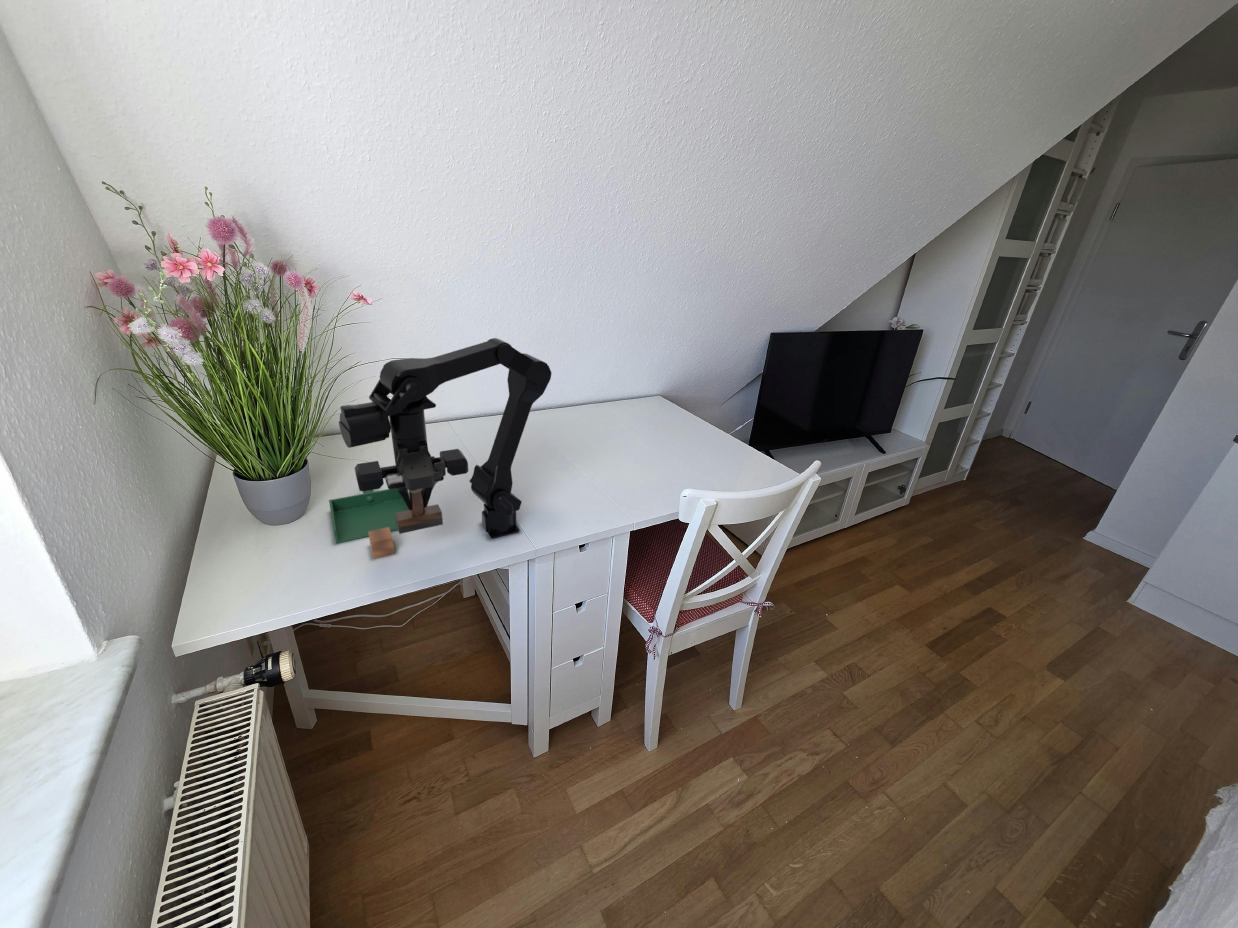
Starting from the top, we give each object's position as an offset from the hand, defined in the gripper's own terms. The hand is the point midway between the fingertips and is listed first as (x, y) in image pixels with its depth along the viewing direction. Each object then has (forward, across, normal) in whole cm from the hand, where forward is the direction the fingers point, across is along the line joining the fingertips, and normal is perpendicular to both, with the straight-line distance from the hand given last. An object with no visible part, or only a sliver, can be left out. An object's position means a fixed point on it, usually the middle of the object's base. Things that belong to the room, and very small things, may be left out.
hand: (417, 507), depth 97 cm
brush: (+4, 0, 0) cm, 4 cm away
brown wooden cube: (+12, -7, +6) cm, 15 cm away
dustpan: (+12, -7, +22) cm, 26 cm away
